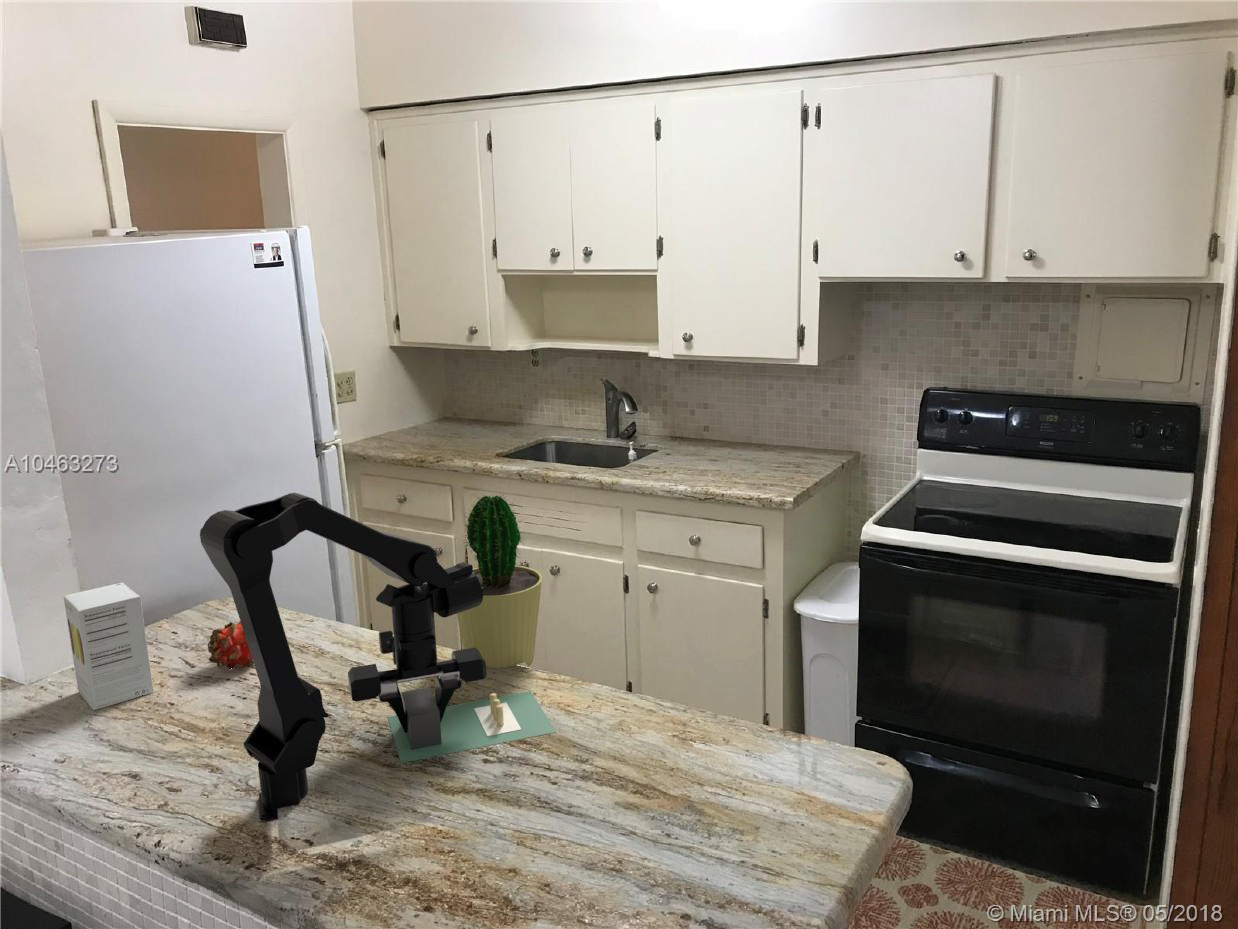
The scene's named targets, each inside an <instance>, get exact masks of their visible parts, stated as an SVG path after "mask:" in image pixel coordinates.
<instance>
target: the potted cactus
mask: <svg viewBox="0 0 1238 929" xmlns="http://www.w3.org/2000/svg"><path fill="white" fill-rule="evenodd" d="M504 495H505V493H503V494H502V495H491V494H490V495H483V496H482V497H479V496H477V499H478V501H476V502H475V501H474V504H471V507H472V509H468V510H469V512H470V513H467V512H466V514H468V515H469V516H466V515H464V517H465V518H467V521H466V523H467V525H466V524H465V523H464V524H463V525H464V526H465V530H464V533H465V532H466V533H465V536H464V535H462V537H464V538H465V541H466V542H465V541H464V543H463V544H466V543H467V544H466V545H465V547H468V548H467V549H468V550H467V551H469V550H470V549H471V552H474V553H475V555H474V560H476V562H477V566H476V564H475V565H473V566H475V567H473V573H474V574H475V575H476V576H477V578H478V579H479V582H480V584H481V587H482V588H483V600H482V602H481V604H480V605H479V606H477V607H474V608H471V609H468V610H466V611H463V612H460V613H457V614H456V619H457V622H458V628H459V632H460V636H461V639H462V640H461V641H462V646H463V649H469V648H476V649H477V650H479V651H480V653H481V655H482V657H483V658H484V660H485V663H486V668H488V669H493V668H494V669H499V668H503V669H504V668H508V667H509V668H510V667H513V666H518V665H520V664H523V663H525V664H526V665H527V667H528V668H529V667H530V666H531V665H532V664H533V662H534V659H535V651H536V650H535V649H536V641H537V640H536V639H537V631H538V630H537V629H538V620H539V612H540V611H539V610H540V600H541V594H542V593H541V591H542V590H541V589H542V580H543V575H542V573H540V572H539V571H538V570H536V569H534V568H531V567H527V566H523V565H519V564H517V562H516V560H517V558H522V557H520V556H519V555H520V552H519V551H518V547H519V545H520V543H522V544H523V542H524V539H522V535H521V533H523V531H524V530H523V531H520V528H522V527H521V526H519V523H521V522H522V521H523V520H520V519H519V520H518V519H517V517H516V516H518V513H517V512H515V511H516V510H514V509H512V508H513V507H514V506H516V504H517V503H515V504H512V502H511V501H510V500H509V499H507V500H505V499H506V496H504ZM509 501H510V502H509ZM519 521H520V522H519ZM517 554H519V555H517Z"/></svg>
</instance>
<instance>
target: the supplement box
mask: <svg viewBox="0 0 1238 929" xmlns="http://www.w3.org/2000/svg"><path fill="white" fill-rule="evenodd" d="M63 602H64V608H65V615H66V621H67V627H68V633H69V640H70V647H71V654H72V660H73V666H74V673H75V674H74V675H75V678H76V679H75V680H76V685H77V691H78V693H79V694H80V695H81V697H82V698H83V699H84V701H85V702H86V703H87V704H88V705H89V707H90V708H91V709H92V710H93V711H98V710H100V709H103V708H106V707H109V706H113V705H117V704H119V703H123V702H127V701H130V700H133V699H136V698H140V697H142V695H143V696H147V695H150V694H153V693H154V685H153V678H152V672H151V663H150V657H149V649H148V644H147V638H146V637H147V636H146V630H145V629H146V628H145V620H144V612H143V604H142V598H141V596H140V595H139V594H138V593H136V592H135V591H134V590H132V588H130V587H129V586H128V585H126V583H125V582H119V583H114V584H110V585H109V584H108V585H105V586H101V587H96V588H91V589H88V590H83V591H78V592H74V593H70V594H66V595H64V596H63ZM139 696H140V697H139Z"/></svg>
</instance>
